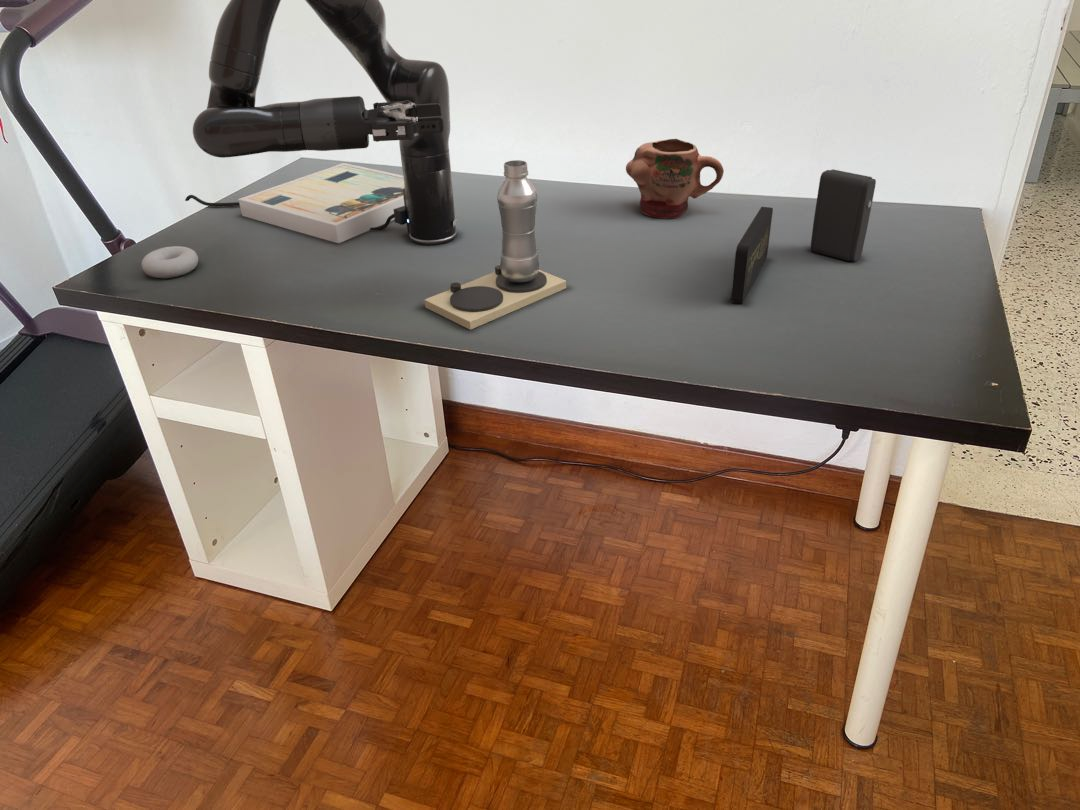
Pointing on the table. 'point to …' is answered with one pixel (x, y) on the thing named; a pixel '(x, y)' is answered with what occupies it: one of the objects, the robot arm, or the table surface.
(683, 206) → the animal head mug
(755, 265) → the nameplate
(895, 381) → the table surface
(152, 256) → the donut
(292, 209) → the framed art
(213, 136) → the robot arm
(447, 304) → the hob
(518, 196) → the silver bottle
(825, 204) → the dark grey upright block
